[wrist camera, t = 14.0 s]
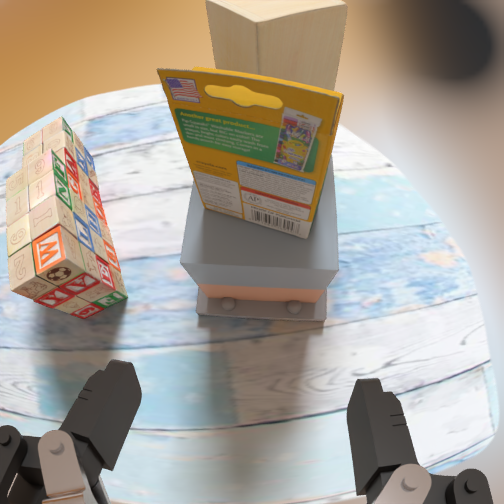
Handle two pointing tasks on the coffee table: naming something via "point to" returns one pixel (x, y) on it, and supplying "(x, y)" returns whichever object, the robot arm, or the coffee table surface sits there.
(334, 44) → the tall beige wooden block
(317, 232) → the two-tone cube on base
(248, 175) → the crayon box
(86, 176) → the stack of blocks
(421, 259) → the coffee table surface
